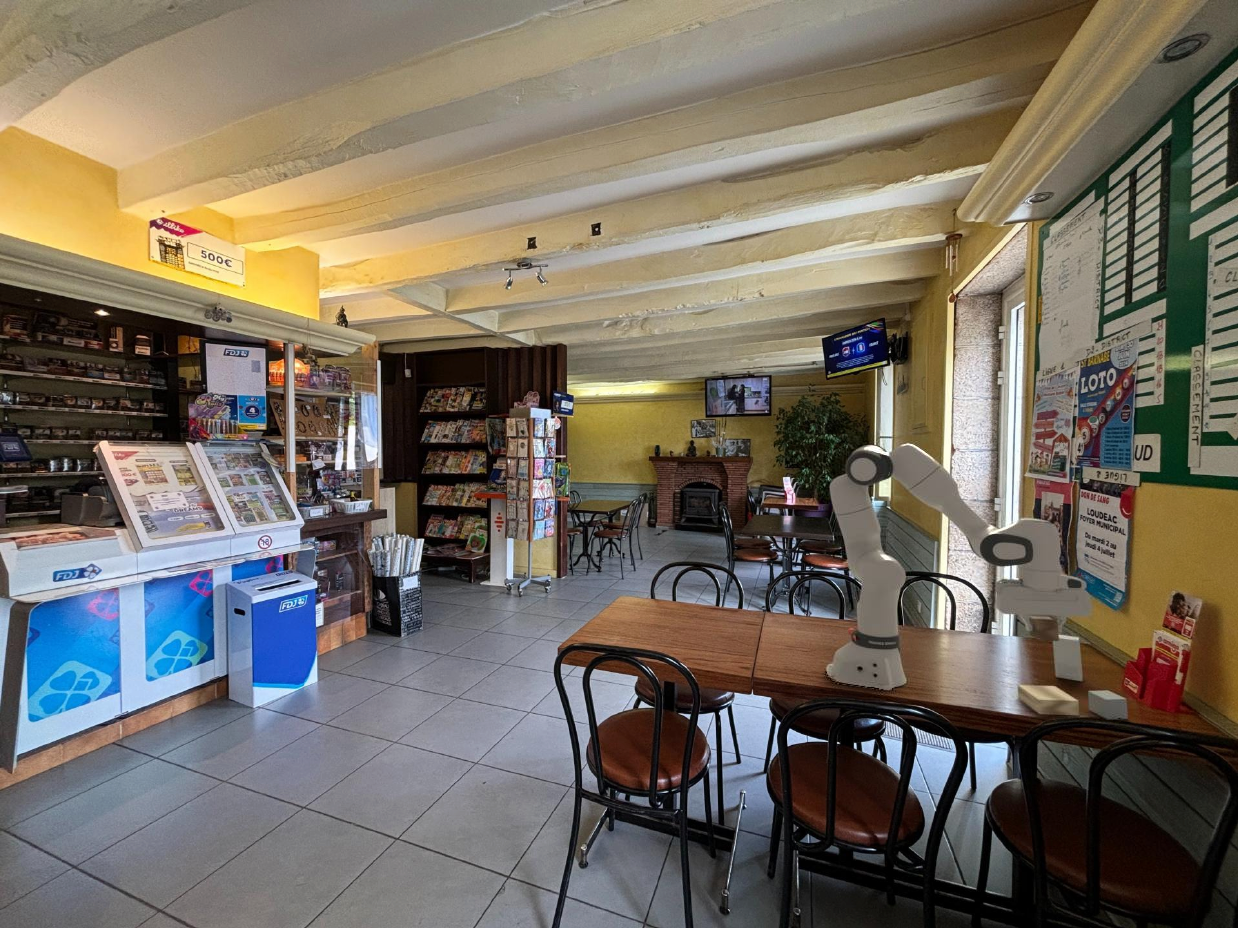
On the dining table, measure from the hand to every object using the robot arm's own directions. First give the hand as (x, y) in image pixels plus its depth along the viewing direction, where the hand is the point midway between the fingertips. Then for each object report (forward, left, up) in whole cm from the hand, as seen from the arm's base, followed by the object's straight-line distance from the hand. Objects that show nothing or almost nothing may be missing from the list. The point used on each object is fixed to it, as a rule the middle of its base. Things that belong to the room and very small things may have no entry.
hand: (1043, 631), depth 135 cm
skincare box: (+15, +22, -20) cm, 33 cm away
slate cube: (+12, -2, -20) cm, 23 cm away
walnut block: (0, 0, -2) cm, 2 cm away
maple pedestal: (0, 0, -20) cm, 20 cm away
